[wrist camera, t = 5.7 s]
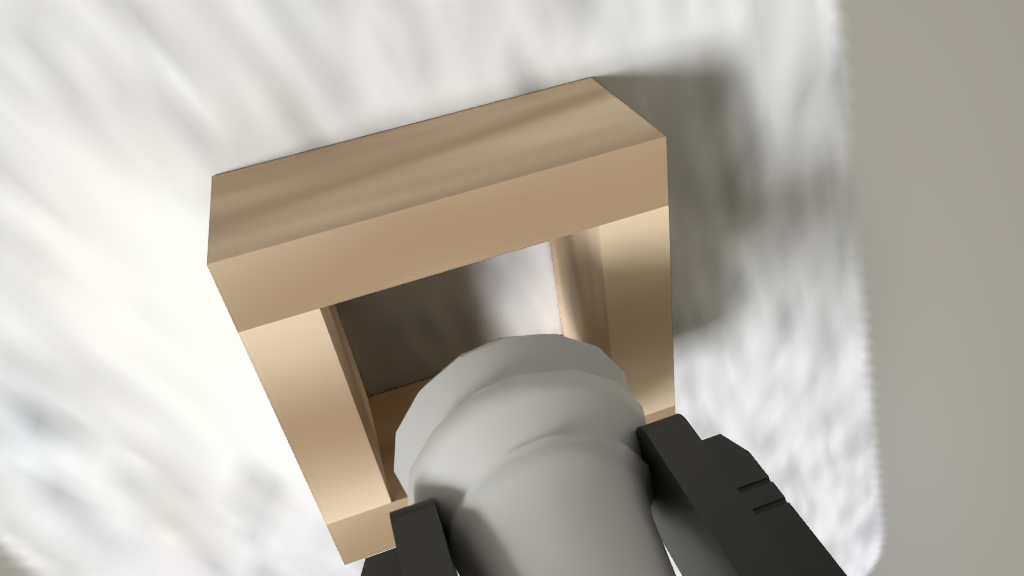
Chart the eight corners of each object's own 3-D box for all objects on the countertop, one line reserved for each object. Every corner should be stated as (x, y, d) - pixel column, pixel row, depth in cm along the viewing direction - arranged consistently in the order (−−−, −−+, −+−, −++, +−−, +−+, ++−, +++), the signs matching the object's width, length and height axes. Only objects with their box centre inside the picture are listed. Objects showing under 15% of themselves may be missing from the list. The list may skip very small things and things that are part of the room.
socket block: (212, 176, 15) (206, 264, 12) (590, 77, 16) (666, 136, 13) (328, 454, 19) (344, 564, 17) (616, 359, 21) (676, 447, 18)
